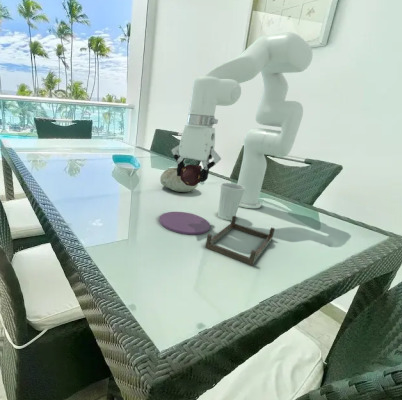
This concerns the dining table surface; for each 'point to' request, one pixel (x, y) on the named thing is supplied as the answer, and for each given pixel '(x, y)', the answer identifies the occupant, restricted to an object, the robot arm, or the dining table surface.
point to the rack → (235, 255)
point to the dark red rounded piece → (191, 174)
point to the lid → (184, 223)
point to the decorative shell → (174, 181)
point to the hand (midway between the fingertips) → (191, 178)
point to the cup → (229, 200)
